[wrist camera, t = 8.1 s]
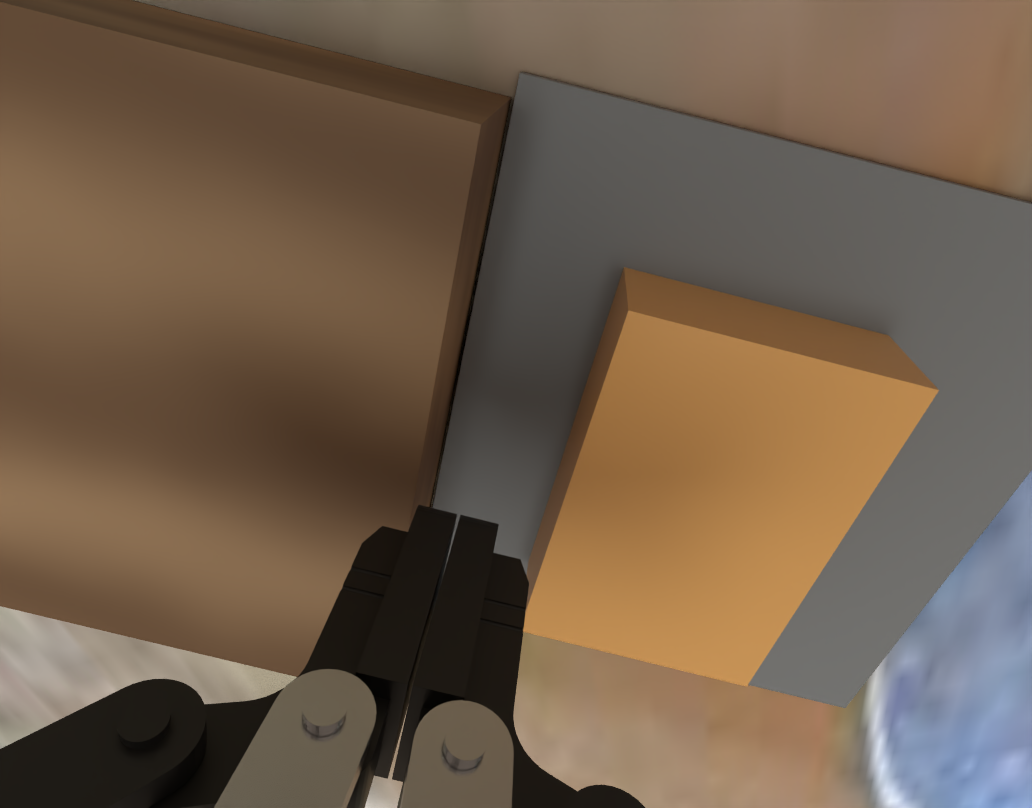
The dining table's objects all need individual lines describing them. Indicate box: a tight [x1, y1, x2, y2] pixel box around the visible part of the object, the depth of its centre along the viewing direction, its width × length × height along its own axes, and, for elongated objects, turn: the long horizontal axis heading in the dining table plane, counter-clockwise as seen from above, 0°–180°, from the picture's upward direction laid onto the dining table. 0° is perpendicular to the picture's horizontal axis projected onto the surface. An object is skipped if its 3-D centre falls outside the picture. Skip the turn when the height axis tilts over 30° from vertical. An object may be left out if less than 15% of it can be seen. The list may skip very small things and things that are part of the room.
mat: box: [433, 72, 1032, 708], centre depth 17 cm, size 15×14×1 cm
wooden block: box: [0, 0, 512, 677], centre depth 15 cm, size 14×16×4 cm
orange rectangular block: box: [523, 267, 939, 687], centre depth 16 cm, size 9×6×2 cm, turn 167°
